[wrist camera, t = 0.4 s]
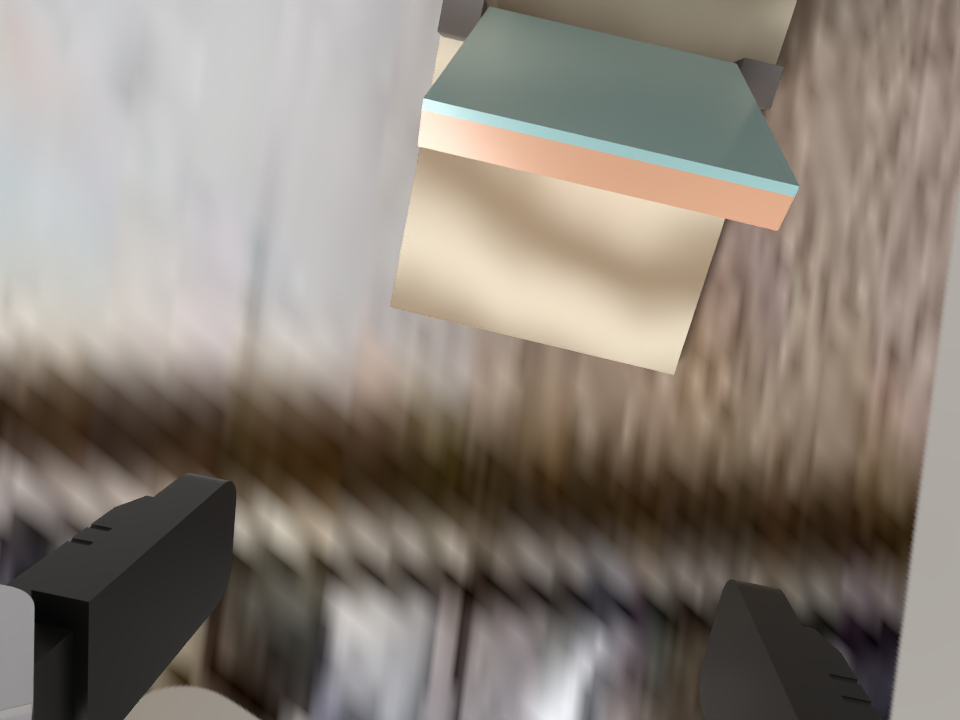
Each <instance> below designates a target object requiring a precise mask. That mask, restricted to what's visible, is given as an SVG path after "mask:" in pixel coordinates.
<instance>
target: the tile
mask: <svg viewBox="0 0 960 720" xmlns="http://www.w3.org/2000/svg"><path fill="white" fill-rule="evenodd" d="M418 146H419V147H423V148H428V149H432V150H436V151H440V152H445V153H449V154H453V155H457V156H462V157H466V158H470V159H474V160H479V161H483V162H487V163H491V164H496V165H500V166H504V167H508V168H513V169H517V170H521V171H525V172H530V173H534V174H538V175H542V176H547V177H551V178H555V179H560V180H564V181H568V182H572V183H577V184H581V185H585V186H589V187H594V188H598V189H602V190H606V191H611V192H615V193H619V194H623V195H628V196H632V197H636V198H640V199H645V200H649V201H653V202H657V203H662V204H666V205H670V206H674V207H679V208H683V209H687V210H691V211H696V212H700V213H704V214H708V215H713V216H717V217H721V218H725V219H730V220H734V221H738V222H742V223H747V224H751V225H755V226H759V227H764V228H768V229H772V230H776V231H778V229H779V227H780V225H781V223H782V221H783V219H784V217H785V215H786V213H787V211H788V209H789V207H790V205H791V203H792V201H793V199H794V197H795V195H796V193H797V191H798V189H799V187H800V186H799V184H798V182H797V180H796V178H795V176H794V174H793V172H792V170H791V169H790V167H789V165H788V163H787V161H786V159H785V157H784V155H783V153H782V151H781V149H780V147H779V145H778V143H777V141H776V139H775V137H774V135H773V133H772V132H771V130H770V128H769V126H768V124H767V122H766V120H765V118H764V116H763V114H762V112H761V110H760V108H759V106H758V104H757V102H756V100H755V98H754V96H753V95H752V93H751V91H750V89H749V87H748V85H747V83H746V81H745V79H744V77H743V75H742V73H741V71H740V69H739V67H738V65H737V64H736V63H731V62H727V61H723V60H718V59H714V58H710V57H706V56H701V55H697V54H693V53H688V52H684V51H680V50H675V49H671V48H667V47H662V46H658V45H654V44H649V43H645V42H641V41H637V40H632V39H628V38H624V37H619V36H615V35H611V34H606V33H602V32H598V31H593V30H589V29H585V28H581V27H576V26H572V25H568V24H563V23H559V22H555V21H550V20H546V19H542V18H537V17H533V16H529V15H525V14H520V13H516V12H512V11H507V10H503V9H499V8H494V7H490V6H489V8H488V9H487V10H486V12H485V13H484V15H483V16H482V17H481V19H480V20H479V22H478V23H477V24H476V26H475V27H474V29H473V30H472V31H471V33H470V34H469V36H468V37H467V38H466V40H465V41H464V43H463V44H462V45H461V47H460V48H459V49H458V51H457V52H456V54H455V55H454V56H453V58H452V59H451V61H450V62H449V63H448V65H447V66H446V68H445V69H444V70H443V72H442V73H441V75H440V76H439V77H438V79H437V80H436V82H435V83H434V84H433V86H432V87H431V88H430V90H429V91H428V93H427V94H426V95H425V97H424V98H423V106H422V114H421V122H420V130H419V138H418Z"/></svg>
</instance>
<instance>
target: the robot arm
mask: <svg viewBox="0 0 960 720" xmlns="http://www.w3.org/2000/svg"><path fill="white" fill-rule="evenodd" d="M235 508H236V488H235V485H234V483H233V482H231V481H227V480H222V479H217V478H212V477H206V476H201V475H196V474H191V473H186V474H184V475H182V476H181V477H179V478H178V479H177V480H175V481H174V482H173V483H171V484H170V485H169V486H167V487H166V488H165V489H163V490H162V491H161V492H159V493H158V494H157V495H155V496H154V497H150V496H144V497H142V498H139V499H136V500H134V501H131V502H128V503H125V504H123V505H120V506H117V507H115V508H113V509H112V510H110V511H109V512H108V513H106V514H105V515H103V516H102V517H101V518H99V519H98V520H96V521H95V522H94V523H92V524H91V527H90V528H88V527H87V528H85V529H84V530H82V531H81V532H80V533H78V534H77V535H75V536H74V537H73V538H72V540H71V542H68V541H67V542H66V543H64V544H63V545H61V546H60V547H59V548H57V549H56V550H54V551H53V552H52V553H50V554H49V555H47V556H46V557H45V558H43V559H42V560H40V561H39V562H38V563H36V564H35V565H33V566H32V567H31V568H29V569H28V570H26V571H25V572H24V573H22V574H21V575H19V576H18V577H17V578H15V579H14V580H12V581H11V582H10V583H8V584H7V585H0V720H124V718H125V717H126V716H127V715H128V714H129V712H130V711H131V710H132V709H133V707H134V706H135V705H136V704H137V703H138V701H139V700H140V699H141V698H142V696H143V695H144V694H145V693H146V692H147V690H148V689H149V688H150V687H151V686H152V684H153V683H154V682H155V681H156V679H157V678H158V677H159V676H160V675H161V673H162V672H163V671H164V670H165V668H166V667H167V666H168V665H169V664H170V662H171V661H172V660H173V659H174V658H175V656H176V655H177V654H178V653H179V651H180V650H181V649H182V648H183V647H184V645H185V644H186V643H187V642H188V641H189V639H190V638H191V637H192V636H193V634H194V633H195V632H196V631H197V630H198V628H199V627H200V626H201V625H202V623H203V622H204V621H205V620H206V619H207V617H208V616H209V615H210V614H211V613H212V611H213V610H214V609H215V608H216V606H217V605H218V603H219V602H220V600H221V598H222V596H223V594H224V592H225V589H226V587H227V584H228V580H229V576H230V572H231V564H232V550H233V536H234V522H235ZM700 701H701V707H702V711H703V715H704V718H705V720H882V719H881V717H880V716H879V714H878V712H877V711H876V709H875V707H871V701H870V699H869V698H868V696H867V694H866V693H865V691H864V689H863V688H862V686H861V685H859V684H857V678H856V676H855V675H854V673H853V671H852V670H851V668H850V667H849V665H848V663H847V662H846V660H845V658H844V657H843V655H842V653H840V652H839V651H838V650H837V649H836V648H835V647H834V646H833V645H832V644H830V643H829V642H828V641H827V640H826V639H825V638H824V637H823V636H822V635H821V634H819V633H818V632H817V631H816V630H815V629H814V628H809V627H804V626H802V625H801V623H800V621H799V620H798V618H797V616H796V614H795V612H794V611H793V609H792V607H791V605H790V604H789V602H788V600H787V598H786V596H785V595H784V593H783V592H782V591H781V590H780V589H778V588H773V587H768V586H763V585H758V584H752V583H747V582H742V581H737V580H729V581H728V582H727V583H726V584H725V586H724V588H723V591H722V594H721V598H720V601H719V605H718V609H717V612H716V616H715V619H714V623H713V627H712V630H711V634H710V638H709V641H708V645H707V649H706V652H705V656H704V660H703V664H702V669H701V676H700Z"/></svg>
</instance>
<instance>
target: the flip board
mask: <svg viewBox="0 0 960 720" xmlns="http://www.w3.org/2000/svg"><path fill="white" fill-rule="evenodd" d="M796 2H797V0H443V4H442V10H441V15H440V21H439V26H438V32H439V33H440V34H441V37H440V42H439V48H438V53H437V58H436V64H435V69H434V74H433V80H432V85H431V87H432V86H433V84H434V83H435V82H436V80H437V79H438V77H439V76H440V75H441V73H442V72H443V70H444V69H445V68H446V66H447V65H448V63H449V62H450V61H451V59H452V58H453V56H454V55H455V54H456V52H457V51H458V49H459V48H460V47H461V45H462V44H463V43H464V41H465V40H466V38H467V37H468V36H469V34H470V33H471V31H472V30H473V29H474V27H475V26H476V24H477V23H478V22H479V20H480V19H481V17H482V16H483V15H484V13H485V12H486V10H487V9H488V8H489V6H490V7H494V8H499V9H503V10H507V11H512V12H516V13H520V14H525V15H529V16H533V17H537V18H542V19H546V20H550V21H555V22H559V23H563V24H568V25H572V26H576V27H581V28H585V29H589V30H593V31H598V32H602V33H606V34H611V35H615V36H619V37H624V38H628V39H632V40H637V41H641V42H645V43H649V44H654V45H658V46H662V47H667V48H671V49H675V50H680V51H684V52H688V53H693V54H697V55H701V56H706V57H710V58H714V59H718V60H723V61H727V62H731V63H736V64H737V65H738V67H739V69H740V71H741V73H742V75H743V77H744V79H745V81H746V83H747V85H748V87H749V89H750V91H751V93H752V95H753V96H754V98H755V100H756V102H757V104H758V106H759V108H760V110H765V109H770V108H771V105H772V102H773V99H774V96H775V93H776V90H777V87H778V84H779V81H780V78H781V75H782V72H783V69H784V67H783V66H778V65H776V63H777V60H778V57H779V54H780V51H781V48H782V45H783V42H784V39H785V36H786V33H787V30H788V27H789V24H790V21H791V18H792V15H793V12H794V9H795V6H796ZM724 221H725V218H721V217H717V216H713V215H708V214H704V213H700V212H696V211H691V210H687V209H683V208H679V207H674V206H670V205H666V204H662V203H657V202H653V201H649V200H645V199H640V198H636V197H632V196H628V195H623V194H619V193H615V192H611V191H606V190H602V189H598V188H594V187H589V186H585V185H581V184H577V183H572V182H568V181H564V180H560V179H555V178H551V177H547V176H542V175H538V174H534V173H530V172H525V171H521V170H517V169H513V168H508V167H504V166H500V165H496V164H491V163H487V162H483V161H479V160H474V159H470V158H466V157H462V156H457V155H453V154H449V153H445V152H440V151H436V150H432V149H428V148H423V147H420V149H419V155H418V160H417V166H416V171H415V176H414V182H413V187H412V192H411V198H410V203H409V208H408V214H407V219H406V225H405V230H404V235H403V241H402V246H401V251H400V257H399V262H398V267H397V273H396V278H395V284H394V289H393V294H392V300H391V305H390V307H392V308H396V309H400V310H404V311H408V312H413V313H417V314H421V315H425V316H429V317H434V318H438V319H442V320H446V321H450V322H455V323H459V324H463V325H467V326H471V327H476V328H480V329H484V330H488V331H492V332H497V333H501V334H505V335H509V336H513V337H518V338H522V339H526V340H530V341H534V342H539V343H543V344H547V345H551V346H555V347H559V348H564V349H568V350H572V351H576V352H580V353H585V354H589V355H593V356H597V357H601V358H606V359H610V360H614V361H618V362H622V363H627V364H631V365H635V366H639V367H643V368H648V369H652V370H656V371H660V372H664V373H669V374H673V375H674V372H675V369H676V366H677V363H678V360H679V357H680V354H681V351H682V348H683V345H684V342H685V339H686V336H687V333H688V330H689V327H690V324H691V321H692V318H693V315H694V312H695V309H696V306H697V303H698V300H699V297H700V294H701V290H702V287H703V284H704V281H705V278H706V275H707V272H708V269H709V266H710V263H711V260H712V257H713V254H714V251H715V248H716V245H717V242H718V239H719V236H720V233H721V230H722V227H723V224H724Z"/></svg>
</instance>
